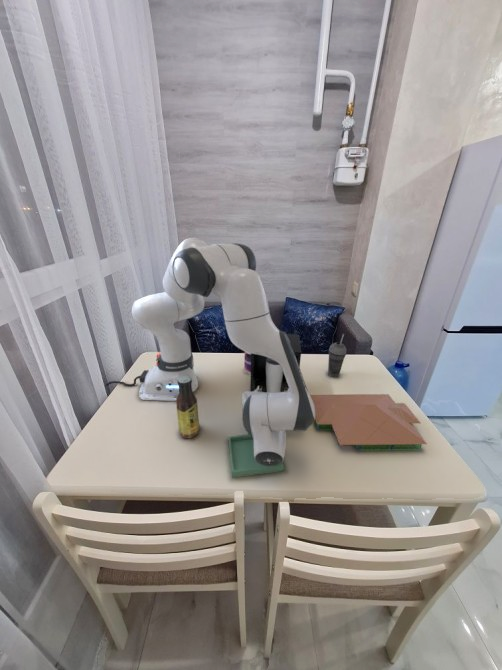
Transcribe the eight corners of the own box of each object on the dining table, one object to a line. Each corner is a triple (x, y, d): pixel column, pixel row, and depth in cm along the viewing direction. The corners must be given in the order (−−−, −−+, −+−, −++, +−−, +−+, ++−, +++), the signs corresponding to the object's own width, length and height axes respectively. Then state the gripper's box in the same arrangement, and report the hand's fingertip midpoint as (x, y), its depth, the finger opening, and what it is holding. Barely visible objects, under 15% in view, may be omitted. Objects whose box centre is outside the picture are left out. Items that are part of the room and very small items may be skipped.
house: (433, 451, 78) (441, 431, 75) (322, 452, 77) (326, 432, 74) (393, 401, 99) (399, 383, 95) (306, 401, 98) (308, 383, 94)
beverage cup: (328, 368, 119) (334, 328, 110) (344, 373, 115) (352, 332, 107) (322, 375, 114) (328, 334, 105) (338, 381, 110) (346, 338, 101)
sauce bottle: (195, 440, 81) (189, 388, 72) (176, 437, 82) (168, 385, 73) (202, 425, 86) (198, 375, 78) (185, 422, 88) (178, 372, 79)
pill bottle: (240, 369, 117) (240, 340, 111) (255, 364, 122) (255, 336, 115) (251, 378, 111) (252, 348, 105) (266, 372, 116) (267, 342, 110)
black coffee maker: (295, 403, 97) (301, 349, 87) (250, 399, 99) (250, 346, 89) (294, 381, 110) (299, 331, 100) (254, 378, 111) (255, 329, 102)
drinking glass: (277, 401, 98) (279, 367, 91) (261, 395, 101) (262, 361, 95) (284, 392, 103) (287, 359, 97) (269, 386, 106) (271, 354, 100)
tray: (232, 477, 70) (231, 472, 69) (228, 441, 81) (228, 436, 80) (283, 470, 72) (284, 465, 71) (273, 436, 83) (273, 431, 82)
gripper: (307, 411, 77) (304, 383, 90) (238, 405, 79) (245, 378, 92) (305, 427, 80) (302, 398, 92) (238, 420, 82) (244, 393, 94)
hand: (273, 388), depth 92 cm, fingers open, 8 cm apart
